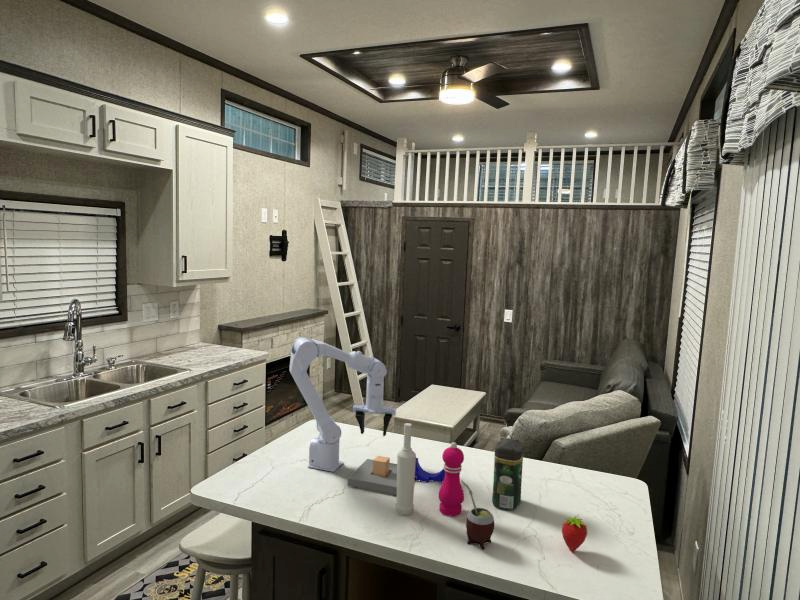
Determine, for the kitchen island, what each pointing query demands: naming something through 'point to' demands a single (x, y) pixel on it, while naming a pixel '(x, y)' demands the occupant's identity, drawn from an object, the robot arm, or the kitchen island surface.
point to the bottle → (405, 475)
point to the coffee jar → (507, 474)
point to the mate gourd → (479, 524)
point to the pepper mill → (451, 482)
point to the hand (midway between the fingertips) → (373, 433)
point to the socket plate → (374, 478)
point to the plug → (381, 466)
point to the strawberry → (574, 533)
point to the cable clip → (428, 474)
